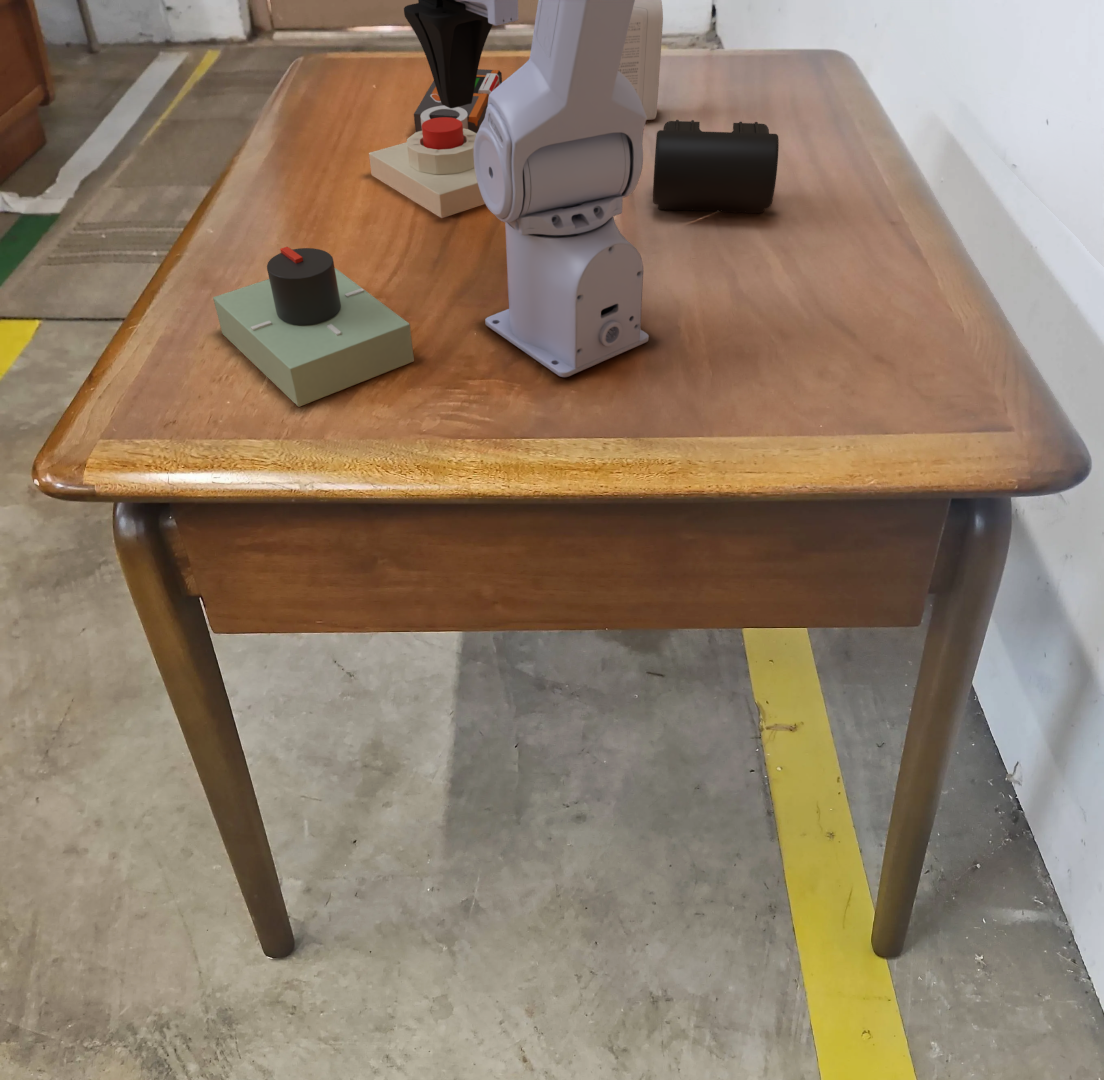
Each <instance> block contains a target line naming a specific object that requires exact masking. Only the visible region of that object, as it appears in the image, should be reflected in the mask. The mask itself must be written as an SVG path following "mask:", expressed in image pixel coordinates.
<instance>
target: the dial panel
mask: <svg viewBox="0 0 1104 1080" xmlns="http://www.w3.org/2000/svg"><path fill="white" fill-rule="evenodd" d="M335 273H336V279H337V285H338V291H339V297H340V303H341V308H340V311H339V312H338V313H337V315H335V316H334V317H333V318H331V319H329V320H327V321H324V322H321V323H318V324H313V325H293V324H289V323H286V322H284V321H282V320H281V319H280V318H279V317H278V316H277V312H276V308H275V303H274V298H273V294H272V289H271V285H270V280H269V278H267V279H265V280H261V281H257V282H255V283H253V284H249V285H246V286H243V287H240V288H237V289H234V290H231V291H228V292H225V293H222V294H219V295H216V296H213V297H212V298H213V300H212V301H213V304H214V307H215V311H216V315H217V319H218V323H219V327H220V330H221V334H222V335H223V336H224V337H225V338H226V339H227V340H228V341H229V342H230V343H231V344H232V345H233V346H234V347H235V348H236V349H237V350H238V351H239V352H241V353H242V355H244V357H246V358H247V359H248V360H249V361H250V362H251V363H252V364H253V365H254V366H255V367H256V368H257V369H258V370H259V371H260V372H261V373H262V374H263V375H264V376H265V377H267V378H268V380H270V382H272V383H273V384H274V385H275V386H276V387H277V388H278V389H279V390H280V391H281V392H282V393H283V394H284V395H285V396H286V397H288V399H289V400H290V401H292V403H294V404H295V405H296V406H297V407H303V406H305V405H307V404H310V403H312V402H315V401H318V400H320V399H322V398H326V397H327V396H330V395H333V394H336V393H339V392H341V391H343V390H345V389H349V388H350V387H353V386H355V385H358V384H360V383H363V382H366V381H368V380H371V379H373V378H375V377H378V376H381V375H384V374H386V373H388V372H391V371H394V370H396V369H398V368H401V367H403V366H406V365H408V364H411V363H414V362H415V356H414V349H413V339H412V329H411V324H410V323H409V322H408V321H406V320H405V319H404V318H403V317H401V316H400V315H399V314H397V313H396V312H395V311H393V310H392V309H391V308H390V307H388V306H387V305H386V304H384V303H383V302H382V301H380V300H379V299H378V298H376V297H375V296H373V295H372V294H371V293H369V292H368V291H367V290H366V289H364V288H363V287H361V286H360V285H359V284H357V282H355V281H353V280H352V279H351V278H350V277H348V276H347V275H345V274H344V273H343V272H342V271H340V269H338V268H337V267H335Z"/></svg>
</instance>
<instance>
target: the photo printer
mask: <svg viewBox="0 0 1104 1080" xmlns="http://www.w3.org/2000/svg"><path fill="white" fill-rule="evenodd" d="M663 25H664V9H663V1H662V0H635V2H634V6H633V10H632V15H631V19H630V23H629V27H628V31H627V35H626V40H625V44H624V48H623V52H622V56H621V61H620V65H619V69H618V71H619V72H621V73H622V74H623V75H624V76H625V77H626V78H627V79H628V80H629V82H630V83H631V84H632V86H633V87H634V89H635V91H636V92H637V94H638V96H639V98H640V100H641V103H642V105H643V108H644V111H645V114H646V117H647V119H646V121H650V120H651V121H652V120H655V119H656V118H657V113H658V101H659V100H658V99H659V87H660V86H659V85H660V70H661V59H662V58H661V56H662V44H663V43H662V41H663Z"/></svg>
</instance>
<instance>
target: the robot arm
mask: <svg viewBox="0 0 1104 1080" xmlns="http://www.w3.org/2000/svg"><path fill="white" fill-rule="evenodd" d="M417 1H418V2H416V3H412V4H407V5H405V6H404V7H403V15H404V18H405V19H406V21H407V22H408V24H409V25H410V27H411V28H412V30H413V32H414V34H415V36H416V37H417V39H418V41H419V43H420V45H421V48H422V50H423V52H424V55H425V57H426V60H427V63H428V67H429V69H430V72H431V75H432V78H433V81H434V82H435V85H436V89H437V92H438V95H439V98H440V100H441V103H442V105H444V106H446V107H448V108H456V107H460V106H463V105H467V104H471V103H472V99H473V94H474V88H475V82H476V77H477V71H478V69H479V66H480V61H481V58H482V54H483V51H484V47H485V44H486V42H487V39H488V37H489V34H490V32H491V30H492V27H493V26H495V27H497V26H501V25H506V24H510V23H515V22H519V0H417ZM634 2H635V0H537V5H536V14H535V19H534V26H533V33H532V34H533V35H532V40H531V47H530V52H529V53H530V54H529V58H528V60H527V61H526V62H525V63H524V64H522V65H521V66H520V67H519V68H518V69H517V70H515V71H514V72H513V73H512V74H510V75H509V76H508V77H507V78H506V79H504V80H502V83H501V84H500V85H499V86H498V87H496V88H495V89H494V90H493V91H492V92H491V93H490V94H489V98H488V106H487V109H486V114H485V118H484V120H483V122H482V124H481V125H480V128H479V130H478V132H477V134H476V137H475V141H474V167H475V173H476V178H477V183H478V186H479V190H480V193H481V195H482V198H483V200H484V202H485V204H484V205H485V206H486V208H487V209H488V210H489V211H490V213H491V214H493V215H494V216H495V217H496V219H498V220H499V221H500V222H502V223H504V227H505V228H504V229H505V251H506V268H507V269H506V271H507V272H506V273H507V274H506V275H507V295H508V296H507V298H508V308H507V309H505V310H502V311H499V312H497V313H494V314H492V315H490V316H487V317H486V318H484V319H485V320H484V321H485V326H486V327H488V328H489V329H491V330H492V331H494V332H495V333H497V334H498V335H500V336H501V337H502V338H503V339H505V340H507V341H508V342H509V343H511V344H512V345H514V346H515V347H517V348H518V349H520V350H521V351H522V352H524V353H525V354H527V355H528V356H529V357H531V358H532V359H534V360H535V361H536V362H538V363H540V364H541V365H542V366H544V367H545V368H547V369H548V370H549V371H551V372H552V373H554V374H555V375H557V376H558V377H561V378H568V377H571V376H574V375H575V374H578V373H580V372H582V371H584V370H587V369H589V368H591V367H593V366H595V365H598V364H600V363H602V362H604V361H607V360H609V359H612V358H614V357H616V356H618V355H620V354H623V353H625V352H627V351H630V350H632V349H634V348H637V347H639V346H641V345H643V344H646V343H647V342H649V337H650V336H649V333H647V332H646V331H644V330H642V329H641V328H642V327H641V323H642V304H643V303H642V302H643V287H644V261H643V259H642V256H641V254H640V252H639V250H638V249H637V247H635V245H634V244H632V243H631V242H630V241H629V240H628V239H626V237H624V235H623V234H622V233H621V231H620V229H619V228H618V226H617V224H616V220H615V218H614V217H616V216H618V215H622V214H623V203H624V201H623V199H624V198H627V197H629V196H630V195H632V194H633V193H634V191H635V190H636V188H637V186H638V183H639V181H640V178H641V176H642V171H643V165H644V146H643V138H644V130H645V125H646V122H647V120H646V119H647V117H646V114H645V111H644V108H643V105H642V103H641V100H640V98H639V96H638V94H637V92H636V91H635V89H634V87H633V86H632V84H631V83H630V82H629V80H628V79H627V78H626V77H625V76H624V75H623V74H622V73H621V72H619V71H618V69H619V65H620V61H621V56H622V52H623V48H624V44H625V40H626V35H627V31H628V27H629V23H630V19H631V15H632V10H633V6H634Z"/></svg>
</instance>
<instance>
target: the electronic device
mask: <svg viewBox="0 0 1104 1080" xmlns="http://www.w3.org/2000/svg"><path fill="white" fill-rule="evenodd" d="M502 77H503V73H502V72H501V70H499V69H485V68H484V69H481V68H480V69H479V68H478V71H477V77H476V82H475V88H474V94H473V99H472V103H471V104H467V105H463V106H460V107H456V108H448V107H446V106H444V105H442V103H441V100H440V98H439V95H438V92H437V89H436V85H435V82H434V80H433V81H432V82H431V84H430V86H429V88H428V89H427V91H426V92H425V94H424V96H423V98H422V99H421V101H420V102H419V105H418V106H417V107H416V110H415V111H414V113H413V120H414V129H415V133H416V132H419V131H422V124H423V123H424V122H425V121H427V120H429V119H433V118H439V117H449V118H455V119H458V120H460V121H461V122H462V124H463V129H469V130H471V131H473V132H475V133H477V132H478V130H479V128H480V125H481V124H482V122H483V120H484V118H485V114H486V109H487V106H488V98H489V94H490V93H491V92H492V91H493V90H494V89H495V88H496V87H498V86H499V85H500V84H501V83H502V82H503V78H502Z"/></svg>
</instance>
